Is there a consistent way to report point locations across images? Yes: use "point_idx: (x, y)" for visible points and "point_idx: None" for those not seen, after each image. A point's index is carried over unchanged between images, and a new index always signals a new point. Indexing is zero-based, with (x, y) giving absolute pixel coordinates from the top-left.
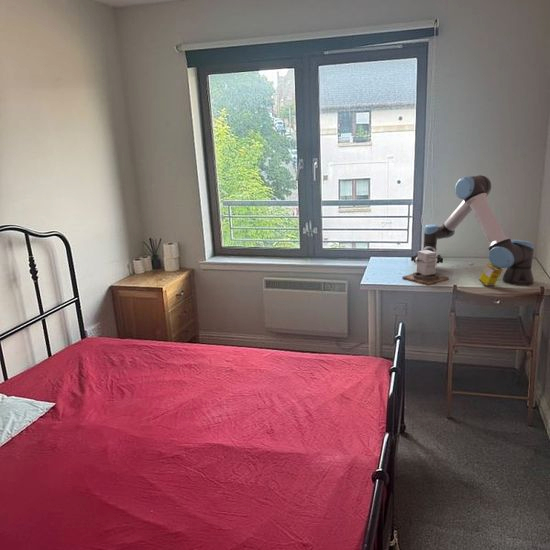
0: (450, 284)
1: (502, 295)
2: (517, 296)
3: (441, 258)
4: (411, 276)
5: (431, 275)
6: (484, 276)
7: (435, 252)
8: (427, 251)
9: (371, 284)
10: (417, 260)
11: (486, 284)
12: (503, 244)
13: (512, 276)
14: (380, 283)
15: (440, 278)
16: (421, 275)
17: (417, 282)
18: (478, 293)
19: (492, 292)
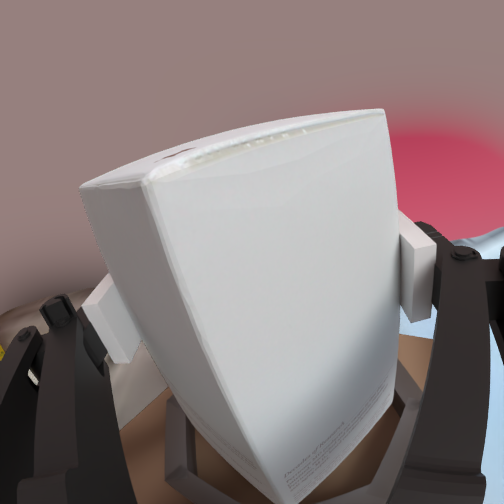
0: (127, 369)
1: (30, 308)
2: (7, 311)
3: (29, 331)
4: (421, 386)
5: (232, 498)
6: None
7: (86, 182)
8: (204, 138)
9: (500, 232)
10: (397, 273)
11: (4, 352)
12: None
13: None
14: (489, 250)
15: (159, 421)
16: (342, 463)
17: None
18: (77, 302)
19: (33, 321)
